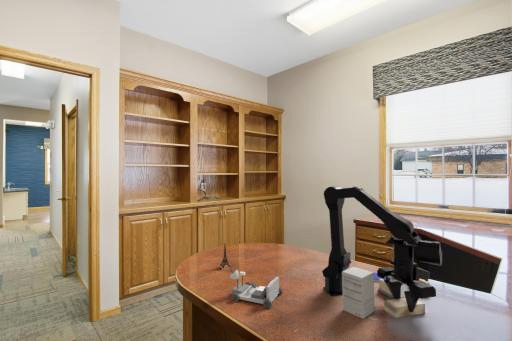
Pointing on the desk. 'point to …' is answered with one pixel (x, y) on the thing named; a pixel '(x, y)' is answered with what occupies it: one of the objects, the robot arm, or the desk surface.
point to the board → (402, 307)
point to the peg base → (386, 291)
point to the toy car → (255, 291)
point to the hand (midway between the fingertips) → (404, 307)
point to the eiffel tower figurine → (224, 259)
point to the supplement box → (358, 291)
